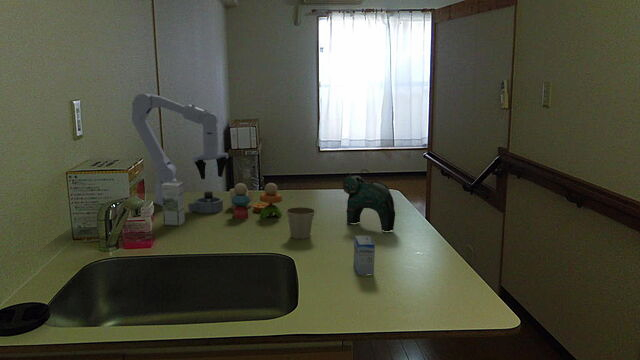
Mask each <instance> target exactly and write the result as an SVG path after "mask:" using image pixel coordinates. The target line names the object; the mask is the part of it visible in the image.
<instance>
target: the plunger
mask: <svg viewBox="0 0 640 360" xmlns="http://www.w3.org/2000/svg"><path fill="white" fill-rule="evenodd" d="M203 197H204V198H207V202H210V198H213V197H214V193H213V191H204V192H203Z"/></svg>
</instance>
